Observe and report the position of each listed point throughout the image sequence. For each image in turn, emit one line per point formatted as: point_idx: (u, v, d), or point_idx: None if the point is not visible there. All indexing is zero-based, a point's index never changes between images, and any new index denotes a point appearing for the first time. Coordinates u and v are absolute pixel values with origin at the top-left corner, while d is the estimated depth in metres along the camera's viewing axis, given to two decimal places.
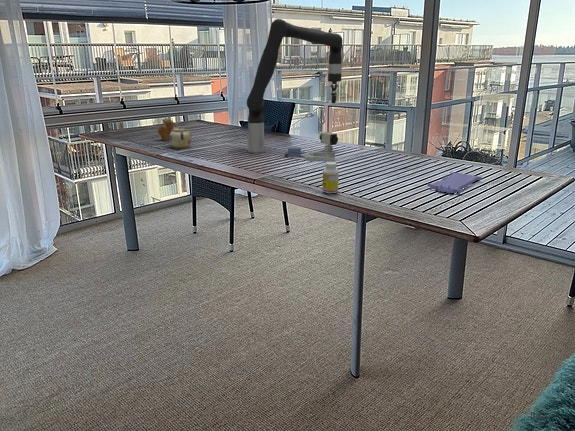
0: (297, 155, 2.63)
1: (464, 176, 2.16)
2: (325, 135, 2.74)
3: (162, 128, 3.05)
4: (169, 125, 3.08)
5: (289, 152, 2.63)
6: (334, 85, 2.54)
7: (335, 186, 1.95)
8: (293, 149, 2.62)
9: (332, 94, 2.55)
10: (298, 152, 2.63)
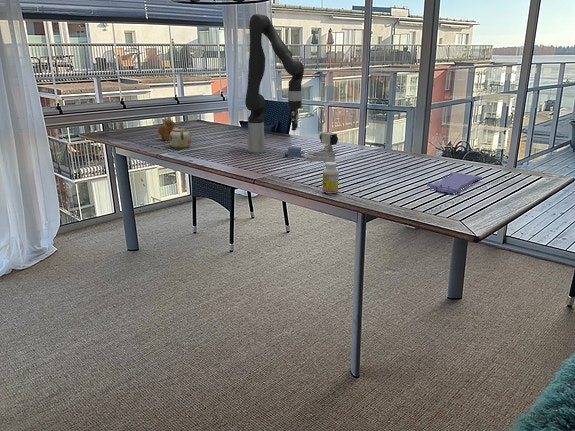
0: (297, 155, 2.63)
1: (464, 176, 2.16)
2: (325, 135, 2.74)
3: (162, 128, 3.05)
4: (169, 125, 3.08)
5: (289, 152, 2.63)
6: (293, 113, 2.51)
7: (335, 186, 1.95)
8: (293, 149, 2.63)
9: (292, 121, 2.53)
10: (298, 152, 2.63)
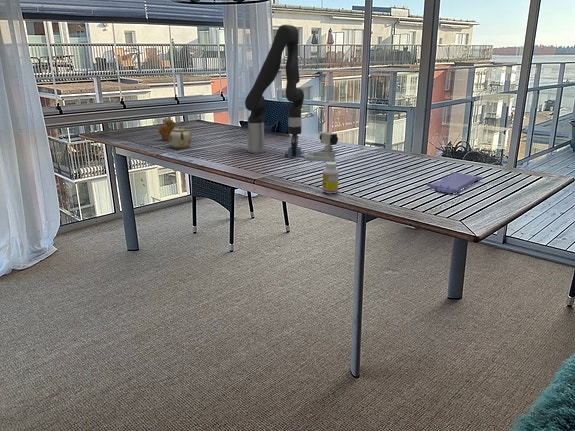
0: (297, 155, 2.63)
1: (464, 176, 2.15)
2: (325, 135, 2.74)
3: (163, 128, 3.05)
4: (170, 125, 3.08)
5: (289, 152, 2.63)
6: (293, 141, 2.56)
7: (335, 186, 1.95)
8: None
9: (292, 148, 2.59)
10: (298, 152, 2.63)
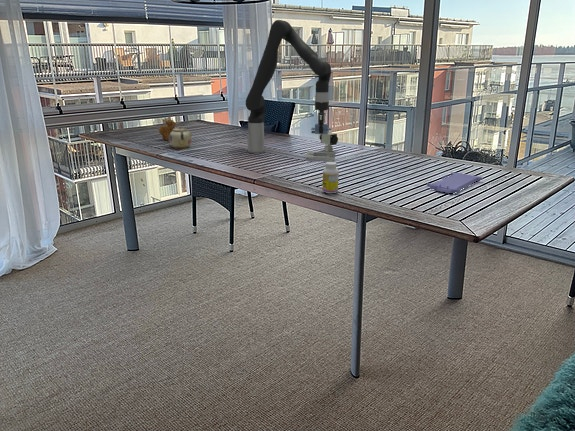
0: (324, 132, 2.55)
1: (464, 176, 2.15)
2: (325, 135, 2.74)
3: (163, 128, 3.05)
4: (170, 125, 3.08)
5: (316, 129, 2.55)
6: (321, 116, 2.48)
7: (335, 186, 1.95)
8: None
9: (319, 124, 2.50)
10: (325, 129, 2.54)
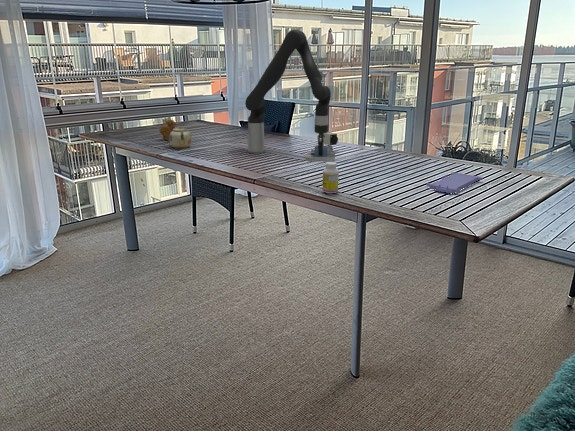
0: (324, 154, 2.59)
1: (464, 176, 2.15)
2: (325, 135, 2.74)
3: (164, 128, 3.05)
4: (171, 125, 3.09)
5: (316, 151, 2.59)
6: (320, 139, 2.52)
7: (335, 186, 1.95)
8: None
9: (319, 147, 2.55)
10: (325, 151, 2.58)
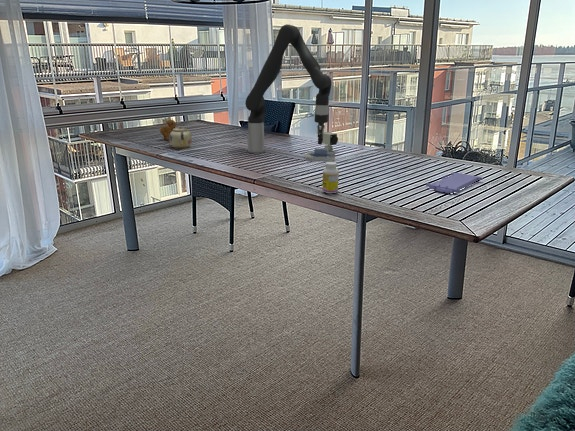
0: None
1: (464, 176, 2.15)
2: (325, 135, 2.74)
3: (164, 128, 3.05)
4: (171, 125, 3.09)
5: (315, 154, 2.59)
6: (320, 127, 2.49)
7: (335, 186, 1.95)
8: (319, 151, 2.58)
9: (318, 136, 2.51)
10: (325, 154, 2.59)
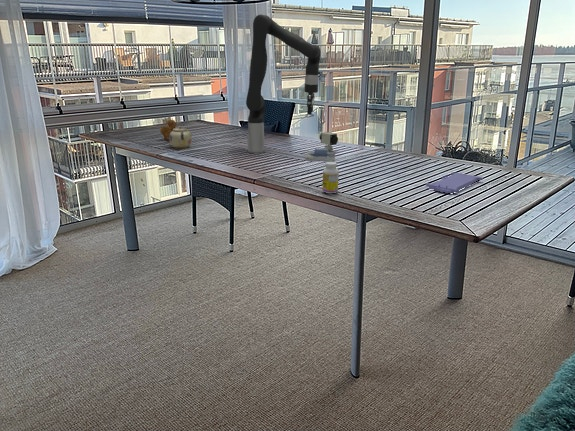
0: None
1: (465, 176, 2.15)
2: (325, 135, 2.74)
3: (165, 128, 3.05)
4: (172, 125, 3.09)
5: (315, 154, 2.59)
6: (310, 96, 2.52)
7: (335, 186, 1.95)
8: (319, 151, 2.58)
9: (308, 105, 2.54)
10: (325, 154, 2.59)
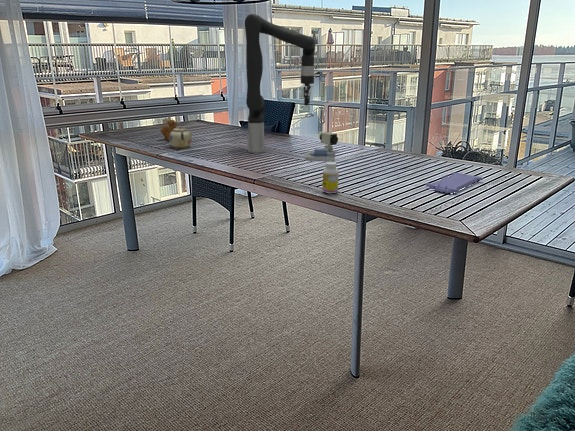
0: None
1: (465, 176, 2.15)
2: (325, 135, 2.74)
3: (165, 128, 3.05)
4: (172, 125, 3.09)
5: (315, 154, 2.59)
6: (306, 87, 2.54)
7: (335, 186, 1.95)
8: (320, 151, 2.58)
9: (304, 96, 2.55)
10: (325, 154, 2.59)
